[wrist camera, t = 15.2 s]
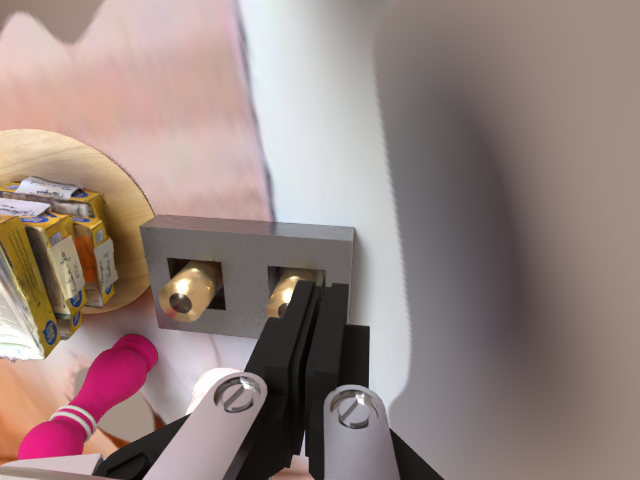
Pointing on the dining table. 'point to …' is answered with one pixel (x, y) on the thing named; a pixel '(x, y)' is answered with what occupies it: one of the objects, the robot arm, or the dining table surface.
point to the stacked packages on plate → (63, 239)
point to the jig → (233, 268)
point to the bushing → (290, 288)
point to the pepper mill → (92, 400)
